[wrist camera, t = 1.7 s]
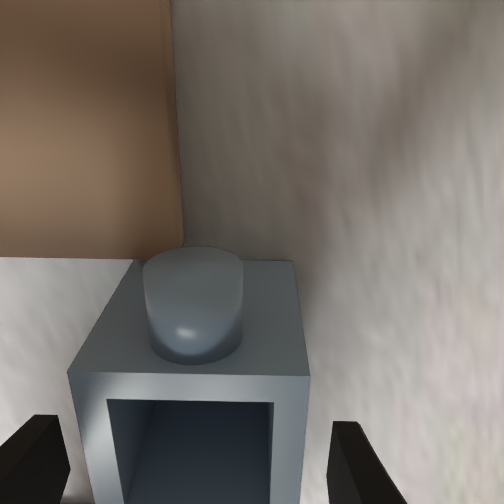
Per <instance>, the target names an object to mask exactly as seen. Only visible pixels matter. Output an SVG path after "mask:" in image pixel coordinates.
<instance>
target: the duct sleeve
mask: <svg viewBox="0 0 504 504" xmlns="http://www.w3.org/2000/svg"><path fill="white" fill-rule="evenodd" d="M67 374H68V379H69V383H70V388H71V393H72V398H73V402H74V407H75V412H76V416H77V421H78V426H79V431H80V435H81V440H82V445H83V449H84V454H85V459H86V464H87V468H88V473H89V478H90V482H91V487H92V492H93V497H94V501H95V504H299V502H300V490H301V479H302V467H303V456H304V445H305V433H306V422H307V410H308V399H309V387H310V370H309V364H308V358H307V351H306V345H305V338H304V332H303V326H302V319H301V313H300V306H299V300H298V293H297V287H296V281H295V274H294V268H293V261H265V260H240V259H239V258H238V257H237V256H236V255H234V254H233V253H231V252H228V251H226V250H223V249H219V248H213V247H204V246H192V247H182V248H176V249H172V250H168V251H165V252H162V253H160V254H158V255H156V256H154V257H152V258H151V259H149V260H148V259H134V260H133V262H132V264H131V265H130V267H129V269H128V270H127V272H126V274H125V275H124V277H123V279H122V280H121V282H120V284H119V285H118V287H117V289H116V290H115V292H114V294H113V295H112V297H111V299H110V300H109V302H108V304H107V305H106V307H105V309H104V310H103V312H102V314H101V315H100V317H99V319H98V320H97V322H96V324H95V325H94V327H93V329H92V331H91V332H90V334H89V336H88V337H87V339H86V341H85V342H84V344H83V346H82V347H81V349H80V351H79V352H78V354H77V356H76V357H75V359H74V361H73V362H72V364H71V366H70V367H69V369H68V371H67Z"/></svg>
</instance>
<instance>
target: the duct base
mask: <svg viewBox="0 0 504 504" xmlns="http://www.w3.org/2000/svg"><path fill="white" fill-rule="evenodd" d="M183 243H184V230H183V213H182V196H181V179H180V162H179V145H178V128H177V111H176V94H175V77H174V60H173V43H172V26H171V9H170V0H0V257H33V258H91V259H148V260H149V259H151V258H152V257H154V256H156V255H158V254H160V253H162V252H165V251H168V250H172V249H176V248H182V245H183Z"/></svg>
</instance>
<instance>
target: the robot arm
mask: <svg viewBox="0 0 504 504" xmlns="http://www.w3.org/2000/svg"><path fill="white" fill-rule="evenodd" d="M70 470H71V469H70V464H69V460H68V456H67V452H66V448H65V444H64V439H63V435H62V431H61V427H60V423H59V419H58V415H34V416H32V417H31V418H30V419H29V420H28V421H27V422H26V423H25V424H24V425H23V426H22V427H20V428H19V429H18V430H17V431H16V432H15V433H14V434H13V435H12V436H11V437H10V438H9V439H8V440H7V441H6V442H4V443H3V444H2V445H1V446H0V504H60V501H61V498H62V495H63V492H64V489H65V486H66V483H67V479H68V476H69V473H70ZM326 476H327V486H328V495H329V504H407V502H406V501H405V499H404V498H403V496H402V495H401V493H400V492H399V490H398V489H397V487H396V486H395V484H394V483H393V481H392V480H391V478H390V476H389V475H388V473H387V472H386V470H385V468H384V467H383V465H382V463H381V462H380V460H379V458H378V457H377V455H376V453H375V451H374V450H373V448H372V446H371V444H370V442H369V441H368V439H367V437H366V435H365V433H364V431H363V429H362V427H361V425H360V424H359V423H358V422H350V421H333V427H332V435H331V443H330V451H329V459H328V467H327V475H326Z"/></svg>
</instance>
